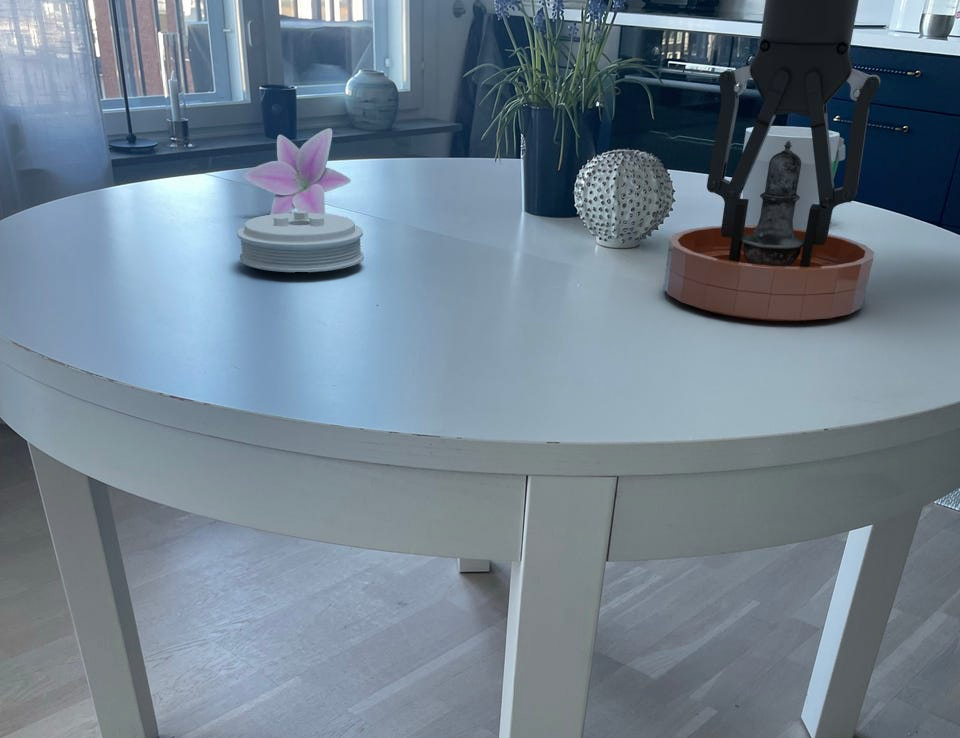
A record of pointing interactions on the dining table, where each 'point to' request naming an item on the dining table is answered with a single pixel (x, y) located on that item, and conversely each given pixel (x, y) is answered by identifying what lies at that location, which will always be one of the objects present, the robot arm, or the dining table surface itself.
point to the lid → (300, 242)
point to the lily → (299, 175)
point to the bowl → (767, 278)
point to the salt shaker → (776, 215)
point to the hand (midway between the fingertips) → (766, 276)
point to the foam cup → (807, 176)
